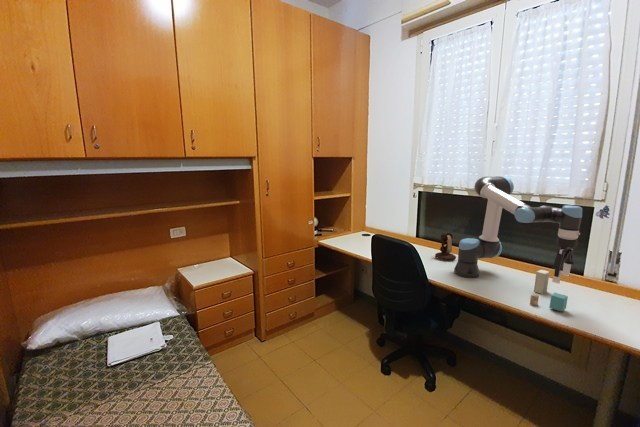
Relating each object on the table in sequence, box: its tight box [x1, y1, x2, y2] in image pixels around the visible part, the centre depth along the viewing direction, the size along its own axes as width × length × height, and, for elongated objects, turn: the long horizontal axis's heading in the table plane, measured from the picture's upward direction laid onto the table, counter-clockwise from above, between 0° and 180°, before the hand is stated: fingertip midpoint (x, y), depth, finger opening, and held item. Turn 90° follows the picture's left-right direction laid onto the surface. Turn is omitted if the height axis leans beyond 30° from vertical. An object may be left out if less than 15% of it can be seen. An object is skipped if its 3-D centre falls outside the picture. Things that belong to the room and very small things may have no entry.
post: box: [529, 293, 539, 307], centre depth 152 cm, size 3×3×5 cm
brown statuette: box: [434, 232, 457, 262], centre depth 223 cm, size 15×15×20 cm
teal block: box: [549, 292, 569, 312], centre depth 146 cm, size 5×5×7 cm
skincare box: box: [533, 269, 550, 295], centre depth 166 cm, size 6×4×12 cm
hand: (560, 279), depth 144 cm, fingers open, 13 cm apart
